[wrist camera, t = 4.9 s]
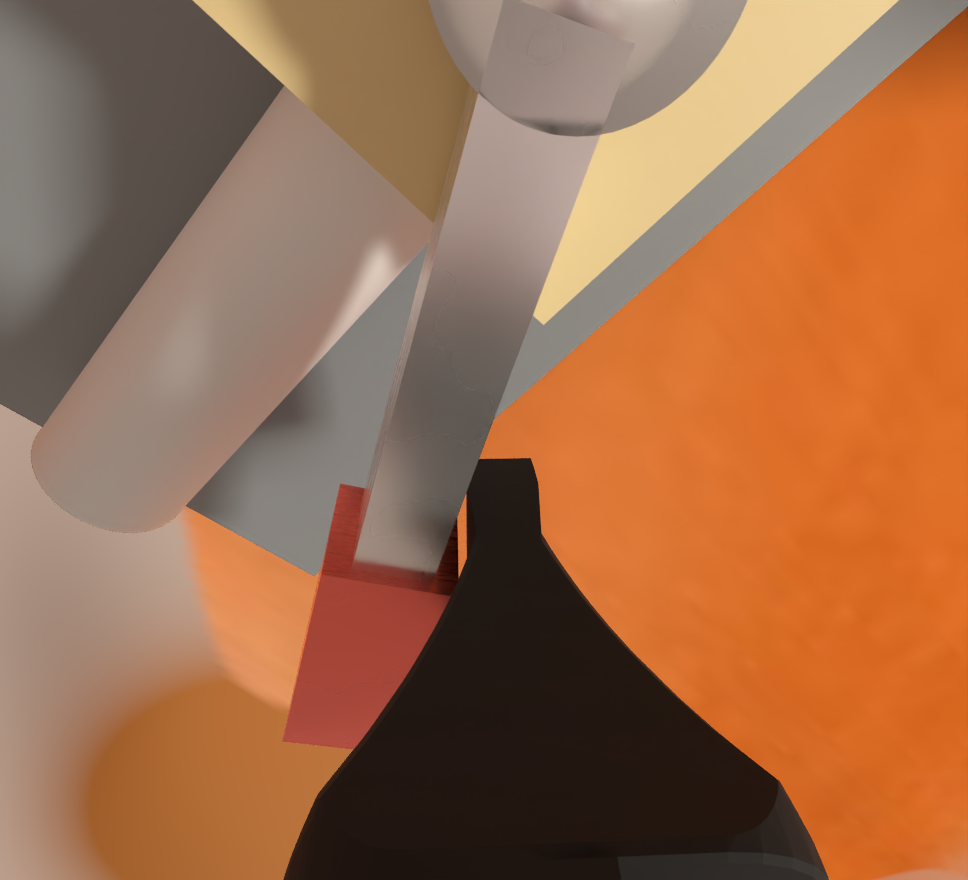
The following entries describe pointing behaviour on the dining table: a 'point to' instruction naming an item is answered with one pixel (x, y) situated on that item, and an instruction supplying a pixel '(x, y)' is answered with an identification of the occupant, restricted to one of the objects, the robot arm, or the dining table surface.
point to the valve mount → (320, 228)
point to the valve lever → (478, 313)
